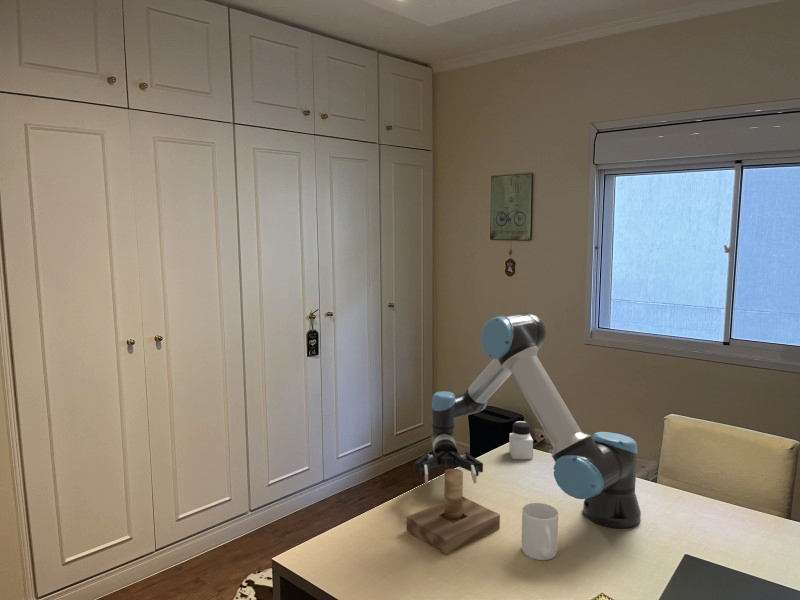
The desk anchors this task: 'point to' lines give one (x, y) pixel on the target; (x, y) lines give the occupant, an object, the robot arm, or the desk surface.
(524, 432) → the medicine bottle
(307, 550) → the desk surface
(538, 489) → the desk surface
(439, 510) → the seat board
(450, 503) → the oak leg
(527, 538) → the mug
